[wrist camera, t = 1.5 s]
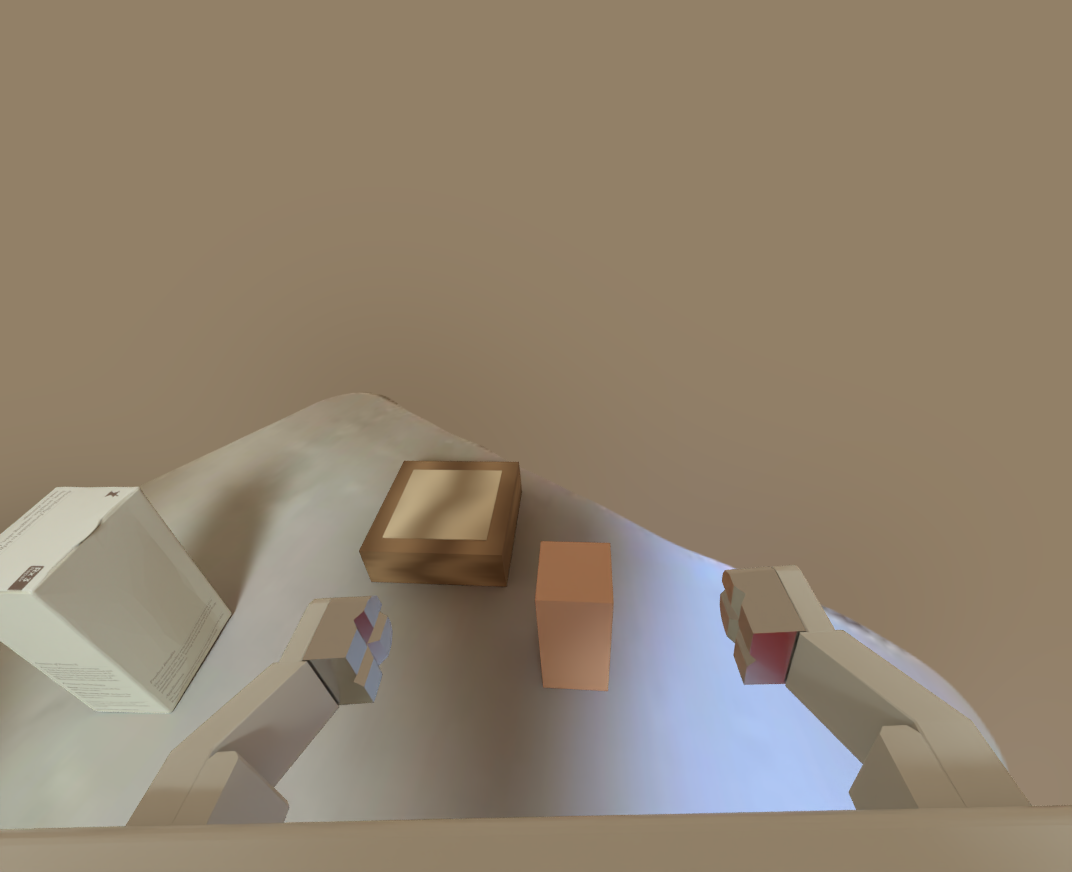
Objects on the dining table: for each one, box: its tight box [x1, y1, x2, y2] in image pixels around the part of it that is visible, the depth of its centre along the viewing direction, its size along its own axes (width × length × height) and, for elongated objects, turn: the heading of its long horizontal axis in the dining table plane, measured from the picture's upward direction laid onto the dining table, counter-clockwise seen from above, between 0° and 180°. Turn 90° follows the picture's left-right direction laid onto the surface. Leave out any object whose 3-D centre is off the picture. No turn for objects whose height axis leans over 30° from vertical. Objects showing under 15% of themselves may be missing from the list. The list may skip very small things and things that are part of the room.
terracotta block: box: [535, 541, 613, 691], centre depth 32 cm, size 4×4×10 cm
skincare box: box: [0, 487, 232, 713], centre depth 32 cm, size 8×6×15 cm
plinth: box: [359, 461, 522, 587], centre depth 44 cm, size 12×12×4 cm
